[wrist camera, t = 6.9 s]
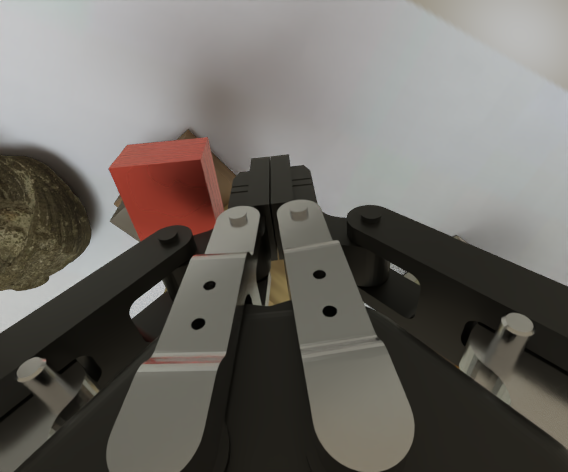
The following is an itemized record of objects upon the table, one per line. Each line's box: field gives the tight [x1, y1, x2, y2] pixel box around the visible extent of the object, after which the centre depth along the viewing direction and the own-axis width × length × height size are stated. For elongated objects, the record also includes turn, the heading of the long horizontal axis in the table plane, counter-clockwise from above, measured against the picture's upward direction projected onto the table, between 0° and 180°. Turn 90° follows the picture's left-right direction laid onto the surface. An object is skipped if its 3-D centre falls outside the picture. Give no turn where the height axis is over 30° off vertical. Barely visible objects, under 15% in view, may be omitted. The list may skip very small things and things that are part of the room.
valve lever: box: [109, 137, 224, 241], centre depth 15 cm, size 12×3×3 cm, turn 4°
